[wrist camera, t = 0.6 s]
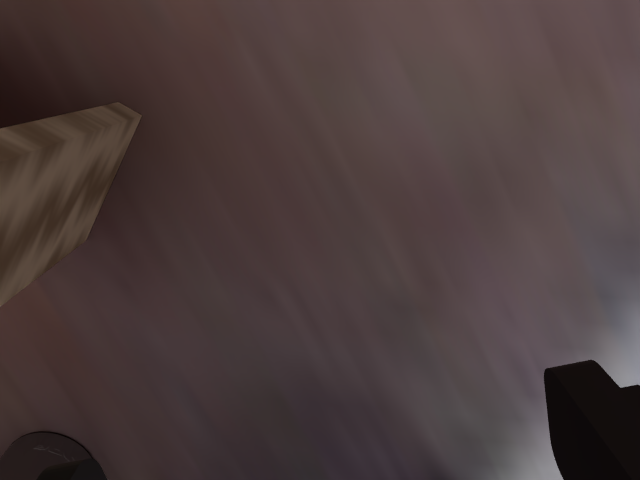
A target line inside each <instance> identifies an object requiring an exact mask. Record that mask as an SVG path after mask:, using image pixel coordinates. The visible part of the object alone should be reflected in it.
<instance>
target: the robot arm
mask: <svg viewBox="0 0 640 480" xmlns="http://www.w3.org/2000/svg"><path fill="white" fill-rule="evenodd" d="M544 384H545V393H546V403H547V412H548V422H549V431H550V440H551V446H552V450H553V454H554V457H555V460H556V463H557V466H558V468H559V471H560V473H561V475H562V477H563V479H564V480H640V385H634V386H628V387H623V388H620V387H619V386H618V385H617V384H616V383H615V382H614V381H613V379H612V378H611V377H610V376H609V375H608V374H607V373H606V372H605V371H604V369H603V368H602V367H601V366H600V365H599V364H598V363H597V362H595V361H593V360H588V361H583V362H577V363H572V364H567V365H562V366H557V367H552V368H547V369H545V372H544ZM0 480H107V478H106V476H105V474H104V472H103V470H102V468H101V466H100V465H99V463H98V462H97V461H96V460H94V459H92V458H91V456H90V455H89V454H88V452H87V451H86V450H85V449H84V448H83V447H81V446H80V445H79V444H77V443H76V442H74V441H72V440H71V439H69V438H67V437H64V436H61V435H58V434H52V433H33V434H28V435H25V436H23V437H20V438H19V439H18V440H16V441H15V442H13V444H12V445H11V446H10V447H9V448H8V450H7V451H6V452H5V453H4V455H3V456H2V457H1V458H0Z"/></svg>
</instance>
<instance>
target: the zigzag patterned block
mask: <svg viewBox="0 0 640 480" xmlns="http://www.w3.org/2000/svg"><path fill="white" fill-rule="evenodd" d="M141 117H142V115H140V114H139V113H137V112H135V111H133V110H132V109H130V108H128V107H126V106H124V105H123V104H121V103H119V102H116V103H112V104H108V105H103V106H99V107H94V108H90V109H85V110H81V111H76V112H72V113H67V114H63V115H58V116H54V117H49V118H45V119H41V120H36V121H32V122H27V123H23V124H18V125H14V126H9V127H5V128H0V307H1V306H2V305H3V304H4V303H6V302H7V301H8V300H10V299H11V298H12V297H14V296H15V295H16V294H17V293H19V292H20V291H21V290H23V289H24V288H25V287H27V286H28V285H29V284H30V283H32V282H33V281H34V280H36V279H37V278H38V277H39V276H41V275H42V274H43V273H45V272H46V271H47V270H49V269H50V268H51V267H52V266H54V265H55V264H56V263H58V262H59V261H60V260H61V259H63V258H64V257H65V256H67V255H68V254H69V253H71V252H72V251H73V250H74V249H76V248H77V247H78V246H80V245H81V244H82V243H84V242H85V241H86V240H87V237H88V235H89V233H90V231H91V229H92V226H93V224H94V222H95V220H96V217H97V215H98V213H99V211H100V208H101V206H102V204H103V202H104V200H105V197H106V195H107V193H108V191H109V188H110V186H111V184H112V182H113V179H114V177H115V175H116V173H117V171H118V168H119V166H120V164H121V162H122V159H123V157H124V155H125V153H126V150H127V148H128V146H129V144H130V142H131V139H132V137H133V135H134V133H135V130H136V128H137V126H138V124H139V122H140V119H141Z"/></svg>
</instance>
